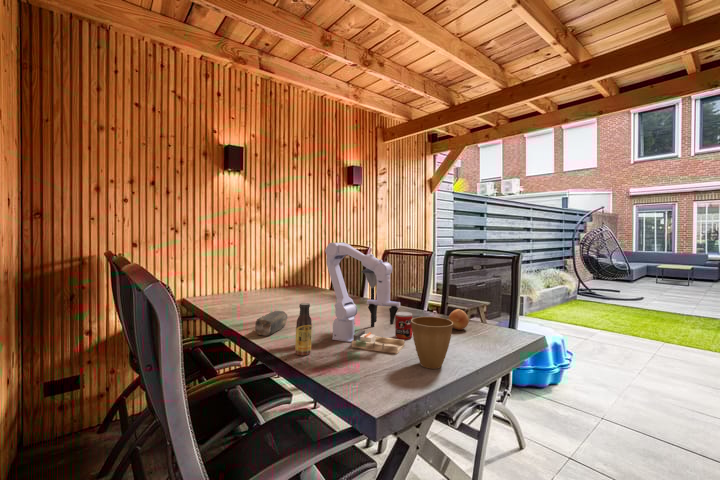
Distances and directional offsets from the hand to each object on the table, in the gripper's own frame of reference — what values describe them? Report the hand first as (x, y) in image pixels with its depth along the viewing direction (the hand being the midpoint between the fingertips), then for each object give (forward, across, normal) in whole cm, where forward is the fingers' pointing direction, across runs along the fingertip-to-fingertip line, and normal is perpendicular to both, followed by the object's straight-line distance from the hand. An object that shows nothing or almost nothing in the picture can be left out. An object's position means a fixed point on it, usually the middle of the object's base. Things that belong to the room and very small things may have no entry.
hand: (383, 323), depth 143 cm
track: (+10, -2, -1) cm, 10 cm away
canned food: (+10, +4, +16) cm, 19 cm away
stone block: (+10, -58, -2) cm, 59 cm away
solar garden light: (+10, -16, +26) cm, 33 cm away
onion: (+10, +25, +40) cm, 48 cm away
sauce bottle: (+10, -25, -22) cm, 35 cm away
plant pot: (+10, +24, -12) cm, 28 cm away
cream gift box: (+9, -6, -1) cm, 11 cm away
